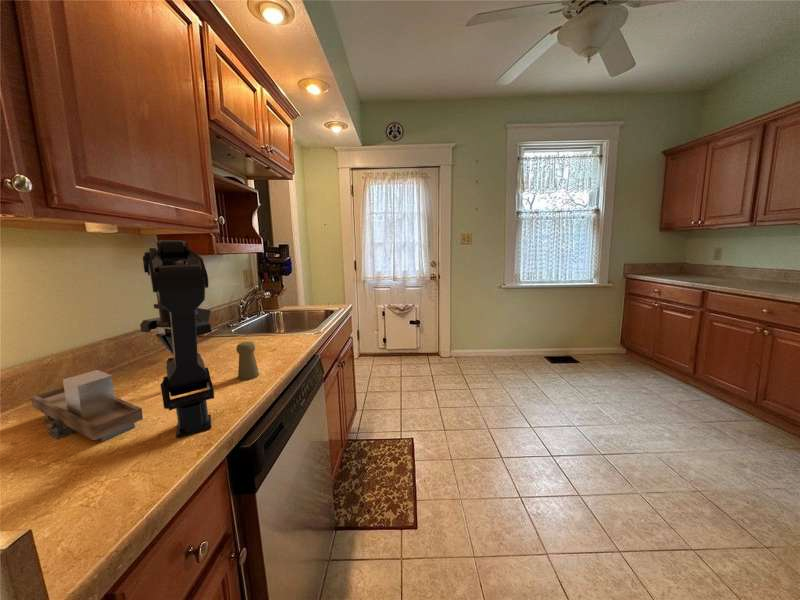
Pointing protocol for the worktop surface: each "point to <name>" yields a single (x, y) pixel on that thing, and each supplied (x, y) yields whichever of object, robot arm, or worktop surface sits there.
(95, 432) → the wooden serving tray
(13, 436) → the worktop surface
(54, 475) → the worktop surface
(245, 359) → the cork
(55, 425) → the pivot stand
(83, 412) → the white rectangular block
